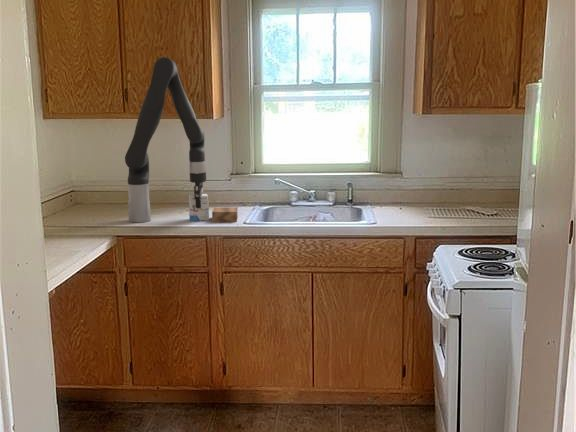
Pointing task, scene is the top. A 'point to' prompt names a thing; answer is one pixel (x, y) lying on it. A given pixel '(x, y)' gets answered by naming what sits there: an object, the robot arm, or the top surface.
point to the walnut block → (225, 214)
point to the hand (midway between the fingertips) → (199, 206)
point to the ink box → (198, 213)
